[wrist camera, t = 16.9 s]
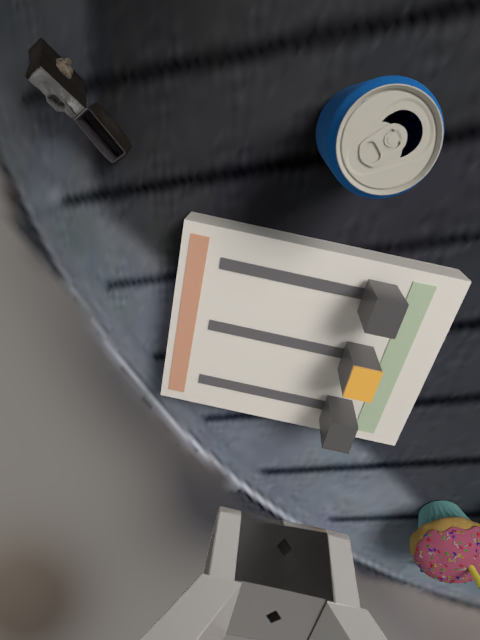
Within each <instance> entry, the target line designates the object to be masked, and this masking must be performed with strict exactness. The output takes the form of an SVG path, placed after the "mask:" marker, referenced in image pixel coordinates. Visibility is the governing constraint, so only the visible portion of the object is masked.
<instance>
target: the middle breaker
mask: <svg viewBox="0 0 480 640" xmlns="http://www.w3.org/2000/svg"><path fill="white" fill-rule="evenodd" d="M337 370H338V375H339V380H340V386H341V391H342V396H343V397H345V398H349V399H354V400H359V401H363V402H368V403H371V402H372V400H373V397H374V395H375V392H376V390H377V388H378V385H379V383H380V380H381V378H382V375H383V371H382V369H381V366H380V363H379V360H378V358H377V355H376V352H375V349H374V347H372V346H367V345H363V344H358V343H353V342H349V341H347V343H346V346H345V349H344V351H343V354H342V357H341V360H340V363H339V366H338V368H337Z"/></svg>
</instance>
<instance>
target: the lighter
mask: <svg viewBox="0 0 480 640" xmlns="http://www.w3.org/2000/svg"><path fill="white" fill-rule="evenodd" d="M29 61H30V64H29V67H28V70H27V73H26V78H27V79H28V80H29V81H30V82H31V83H32V84H33V85H34V86H36V87H37V88H38V89H39V90H40V91H41V92H42V93H43V94H44V95H45V97H46V100H47V103H48V104H50V105H51V106H52V107H53V108H54V109H55V110H56V111H59V112H62V111H64V112H65V113H66V114H67V115H68V116H69V117H70V118H71V119H73V120H74V122H75V123H76V124H77V125H78V127H79V128H80V129H81V130H82V131H83V132H84V134H85V135H86V136H87V137H88V138H89V139H90V141H91V142H92V143H93V144H94V145H95V146H96V148H97V149H98V150H99V151H100V152H101V153H102V154H103V155H104V156H105V157H106V158H107V159H108V160H109V161H110V162H111V163H114V162H115V161H117V160H118V159H120V158H121V157H122V156H124V155H125V154H126V153H127V152H128V150H129V149H130V148H131V147H132V145H131V143H130V142H129V140H128V139H127V137H126V136H125V134H124V133H123V132H122V131H121V129H120V128H119V127H118V125H117V124H116V123H115V122H114V121H113V119H112V118H111V117H110V116H109V115H108V113H107V112H106V111H105V110H104V109H103V108H102V107H101V106H100V105H99V104H98V103H95V104H93V105H91V106H89V107H88V108H87V107H86V89H85V81H84V80H83V79H82V78H81V77H80V76H79V75H78V74H77V73H76V72H75V71H74V70H73V68H72V66H71V60H70V59H69V58H65V59H64V58H61V57H60V56H59V55H58V54H57V53H56V52H55V51H54V50H53V49H52V48H51V47H50V46H49V45H48V44H47V43H46V42H45V41H44V40H43V39H42V38H40V39H39V40H38V41H37V42H36V43H35V44H34V45H33V46H32V47H31V48H30V49H29ZM48 98H49V99H48Z"/></svg>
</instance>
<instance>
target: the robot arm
mask: <svg viewBox="0 0 480 640" xmlns="http://www.w3.org/2000/svg"><path fill="white" fill-rule="evenodd" d="M226 634H228V635H233V636H239V637H244V638H249V639H255V640H387V638H386V637H385V635H384V634H383V632H382V631H381V629H380V628H379V626H378V625H377V623H376V622H375V621H374V619H373V618H372V616H371V615H370V613H369V612H368V610H366V609H362V608H360V602H359V596H358V590H357V583H356V576H355V570H354V563H353V557H352V550H351V544H350V538H349V537H348V535H347V534H343V533H339V532H334V531H329V530H324V529H322V528H317V527H313V526H308V525H303V524H298V523H293V522H288V521H280V520H276V519H271V518H267V517H263V516H259V515H255V514H251V513H247V512H243V511H242V512H241V511H238V510H234V509H229V508H226V507H221V506H220V507H219V510H218V513H217V517H216V521H215V525H214V529H213V534H212V537H211V541H210V546H209V550H208V555H207V559H206V565H205V570H204V574H201V575H200V576H199V577H198V578H197V579H196V580H195V581H194V583H192V584H191V586H190V587H189V588H188V589H187V590H186V591H185V592H184V593H183V594H182V595H181V596H180V598H179V599H178V600H177V601H176V602H175V603H174V604H173V605H172V606H171V607H170V608H169V609H168V611H167V612H166V613H165V614H164V615H163V616H162V617H161V618H160V619H159V620H158V621H157V623H155V625H154V626H153V627H152V628H151V629H150V630H149V631H148V632H147V633H146V635H144V636H143V638H142V639H141V640H223V639H224V637H225V635H226Z"/></svg>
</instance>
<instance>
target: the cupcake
mask: <svg viewBox="0 0 480 640" xmlns="http://www.w3.org/2000/svg"><path fill="white" fill-rule="evenodd" d="M410 553H411V555H412V558H413V560H414V561H415V563H416V564H417V565H418V567H419V568H420V571H421V572H424V573H425V574H426V575H428V576H429V577H430V578H431V577H432V578H433V579H435V580H436V581H441V582H442V581H443V582H445V583H467V582H469V581H472V580H475V582H476V583H477V585H478V587H479V588H480V524H479V523H476V522H473V521H471V520H470V519H469V518H468V517H467V516H466V515H465V514H464V513H463V512H462V510H461V509H460V508H459V507H458V506H457V505H456V504H454V503H452V502H449V501H443V500H440V501H433V502H430V503H428V504H426V505H425V506H424V507H422V509H421V510H420V512H419V515H418V529H417V530H416V531H415V532H414V533H413V534H412V535H411V537H410Z"/></svg>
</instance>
